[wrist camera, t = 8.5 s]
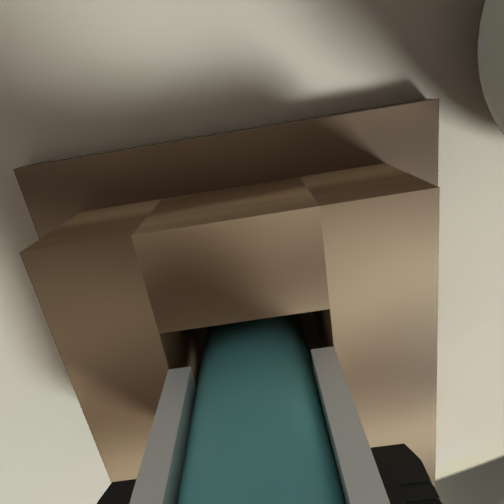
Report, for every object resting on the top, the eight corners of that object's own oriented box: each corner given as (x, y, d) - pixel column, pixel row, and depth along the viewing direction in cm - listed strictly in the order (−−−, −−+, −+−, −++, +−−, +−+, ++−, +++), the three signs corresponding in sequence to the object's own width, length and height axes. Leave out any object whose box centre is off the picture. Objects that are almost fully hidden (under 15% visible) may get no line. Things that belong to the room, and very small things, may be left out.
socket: (27, 165, 16) (-79, 196, 11) (427, 98, 15) (519, 97, 10) (132, 457, 22) (96, 568, 16) (426, 418, 21) (485, 522, 16)
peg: (200, 290, 16) (102, 692, 5) (294, 276, 16) (399, 660, 5) (217, 368, 18) (170, 814, 7) (305, 356, 18) (404, 792, 7)
